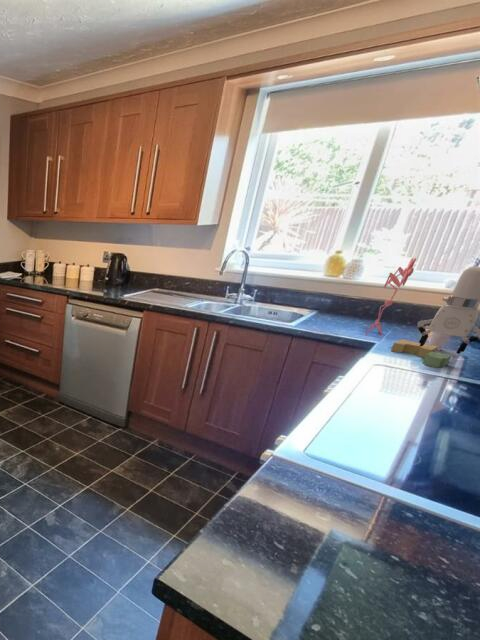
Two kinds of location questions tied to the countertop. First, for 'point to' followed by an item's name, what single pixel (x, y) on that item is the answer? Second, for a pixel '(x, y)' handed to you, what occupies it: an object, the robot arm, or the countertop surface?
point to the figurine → (404, 274)
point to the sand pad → (413, 348)
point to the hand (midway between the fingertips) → (439, 349)
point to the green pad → (436, 359)
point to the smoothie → (438, 340)
